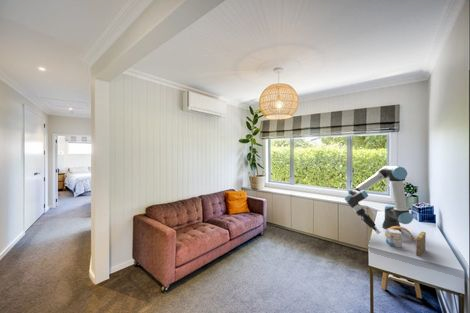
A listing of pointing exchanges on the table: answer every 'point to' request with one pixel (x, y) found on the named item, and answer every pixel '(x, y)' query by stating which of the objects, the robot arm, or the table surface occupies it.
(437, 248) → the table surface
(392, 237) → the ink box
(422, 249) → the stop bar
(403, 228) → the arch
